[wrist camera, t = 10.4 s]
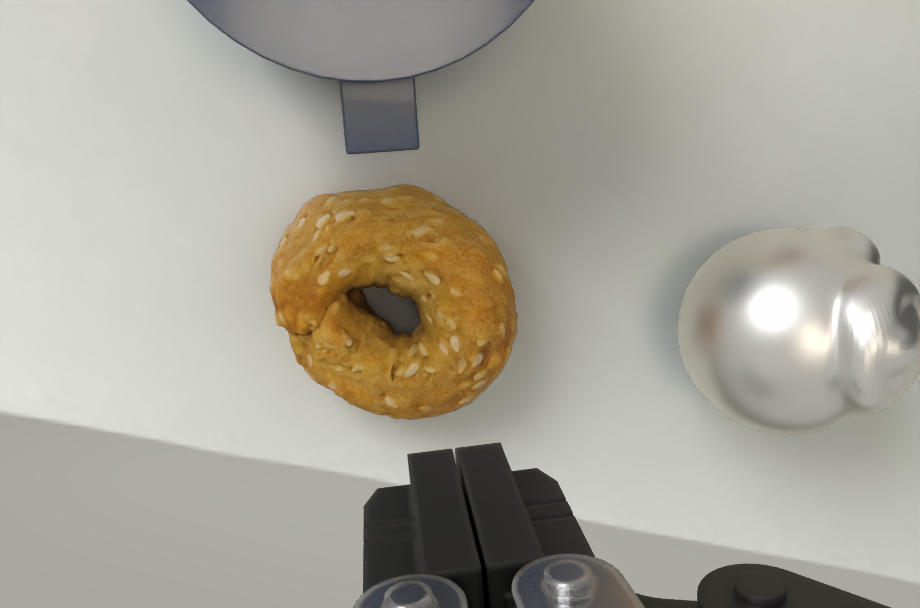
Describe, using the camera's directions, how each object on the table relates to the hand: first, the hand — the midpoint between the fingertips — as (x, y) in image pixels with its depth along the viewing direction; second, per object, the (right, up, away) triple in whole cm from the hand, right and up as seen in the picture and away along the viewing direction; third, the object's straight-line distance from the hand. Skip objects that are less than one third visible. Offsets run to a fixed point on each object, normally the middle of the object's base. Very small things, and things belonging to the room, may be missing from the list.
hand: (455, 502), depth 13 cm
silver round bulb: (+14, +3, +27) cm, 30 cm away
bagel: (-3, +4, +24) cm, 25 cm away
